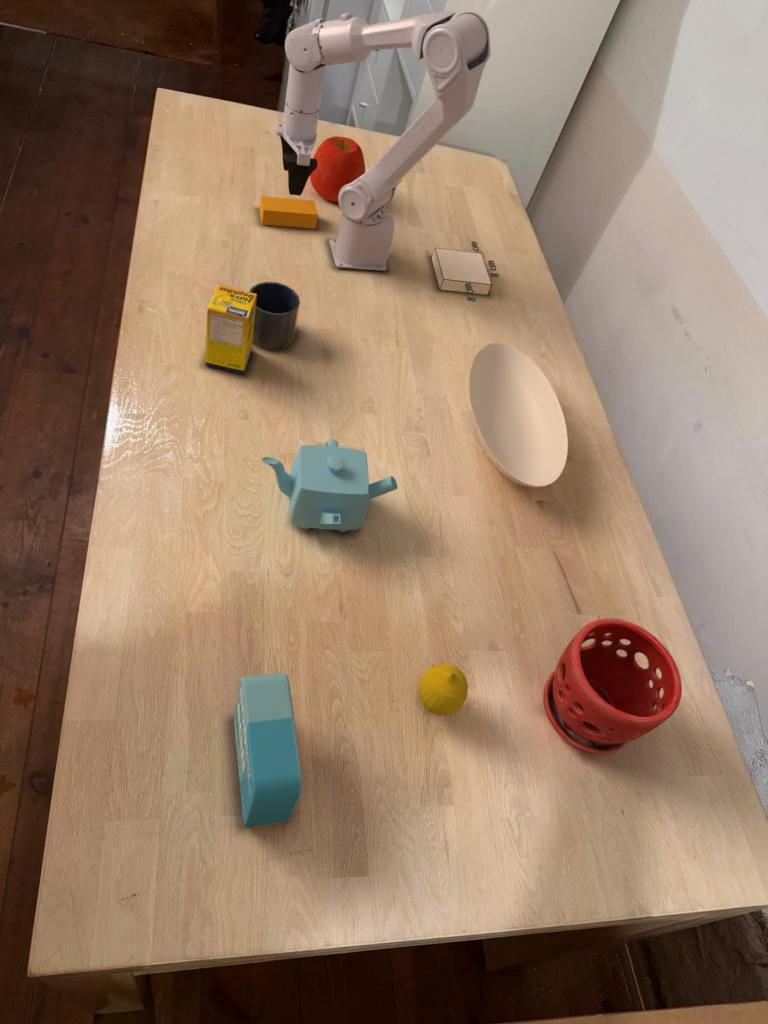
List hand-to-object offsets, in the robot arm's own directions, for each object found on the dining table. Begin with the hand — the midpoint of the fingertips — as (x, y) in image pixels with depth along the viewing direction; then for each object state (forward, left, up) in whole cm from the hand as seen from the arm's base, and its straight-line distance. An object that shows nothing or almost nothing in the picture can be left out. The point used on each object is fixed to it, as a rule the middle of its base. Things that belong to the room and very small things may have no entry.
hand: (292, 181), depth 133 cm
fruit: (-5, +96, -8) cm, 97 cm away
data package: (+16, +101, -8) cm, 103 cm away
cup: (+7, +32, -8) cm, 34 cm away
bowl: (-28, +54, -8) cm, 61 cm away
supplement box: (+14, +38, -8) cm, 41 cm away
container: (-32, +14, -8) cm, 36 cm away
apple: (-11, -11, -8) cm, 17 cm away
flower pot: (-24, +99, -8) cm, 102 cm away
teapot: (+4, +68, -8) cm, 69 cm away
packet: (0, 0, -8) cm, 8 cm away
